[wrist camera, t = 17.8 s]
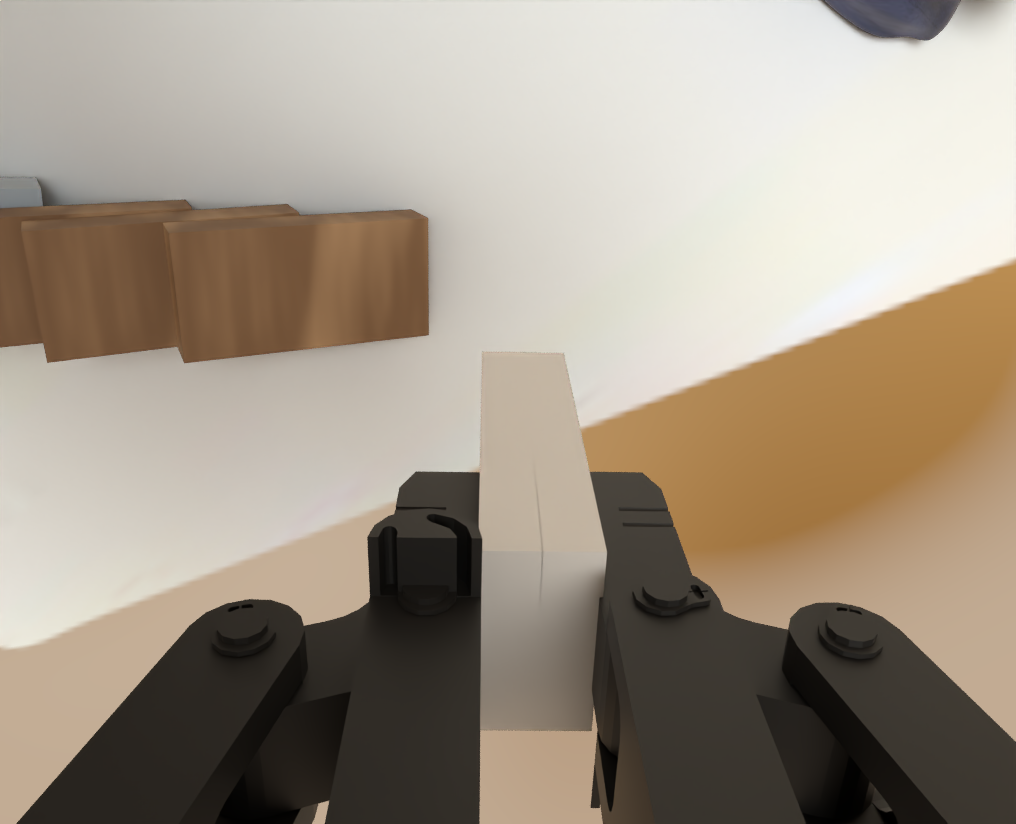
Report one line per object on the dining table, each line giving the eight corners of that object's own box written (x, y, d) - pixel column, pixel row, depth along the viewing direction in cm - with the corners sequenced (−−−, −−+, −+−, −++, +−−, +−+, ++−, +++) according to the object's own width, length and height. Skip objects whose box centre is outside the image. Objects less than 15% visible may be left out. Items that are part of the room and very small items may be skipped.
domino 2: (296, 317, 39) (46, 346, 35) (287, 204, 37) (21, 221, 33) (307, 330, 38) (47, 362, 34) (298, 212, 36) (21, 231, 32)
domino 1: (197, 313, 39) (-64, 338, 35) (185, 199, 37) (-94, 212, 33) (205, 326, 38) (-69, 354, 34) (191, 208, 36) (-101, 222, 32)
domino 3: (412, 322, 40) (177, 347, 36) (411, 209, 38) (162, 222, 34) (428, 335, 38) (184, 363, 34) (428, 218, 36) (168, 233, 32)
